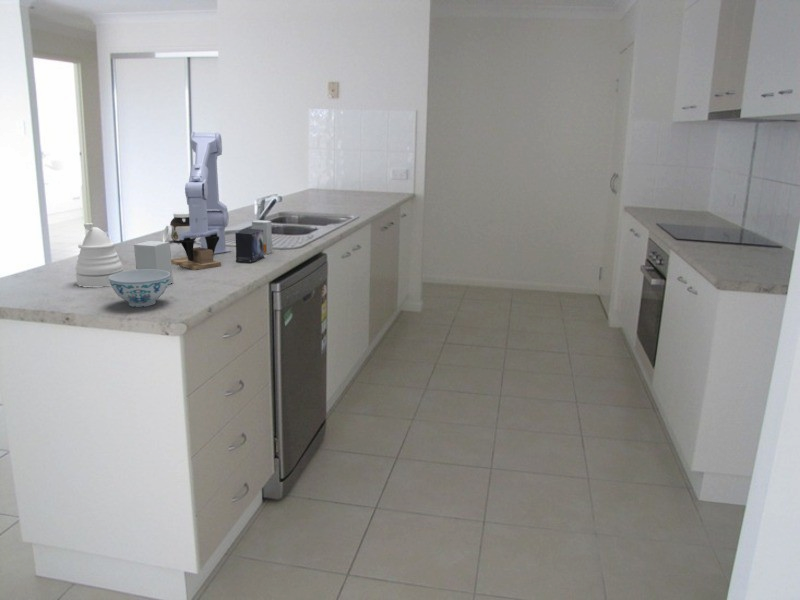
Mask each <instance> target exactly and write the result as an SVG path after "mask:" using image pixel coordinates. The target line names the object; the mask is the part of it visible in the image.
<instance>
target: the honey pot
mask: <svg viewBox="0 0 800 600" xmlns="http://www.w3.org/2000/svg"><path fill="white" fill-rule="evenodd" d="M83 227H84V229H86V230H87V232H86V234H85V237H84V239H83V240H82V242H81V243H79V244H78V245H77V247H78V248H79V249H80V250H79V254H78V255H77V257H78V258H77V260H76V265H75V279H76V285H77V284H78V285H81V286H92V287H93V286H107V285H111V283H110V280H109V276H111V275H112V274H115V273H119V272H123V271H124V270H123V269H124V268H123V262H121V261H120V260H121V259H120V257H119V255H118V254H119V253H118V252H117V251H116V248H115V246H116V243H115V242H114V241H111V240H110V238H109V236H108V234H106V232H105V231H104V230H103V229H101V228H100V227H98V226H94V223H93V222H86V223H83ZM78 285H77V286H78Z"/></svg>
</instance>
